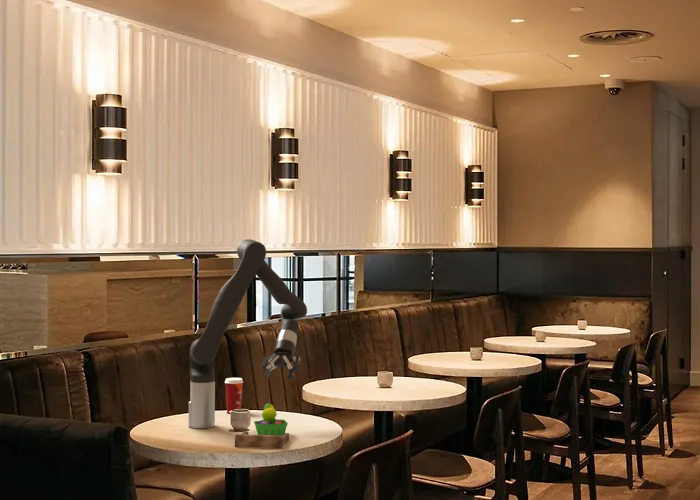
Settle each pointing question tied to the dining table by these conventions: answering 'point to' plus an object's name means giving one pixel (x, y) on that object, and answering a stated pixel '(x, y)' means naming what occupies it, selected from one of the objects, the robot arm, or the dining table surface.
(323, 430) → the dining table surface
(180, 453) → the dining table surface
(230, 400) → the paper cup
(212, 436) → the dining table surface
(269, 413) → the fruit basket
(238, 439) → the frame
